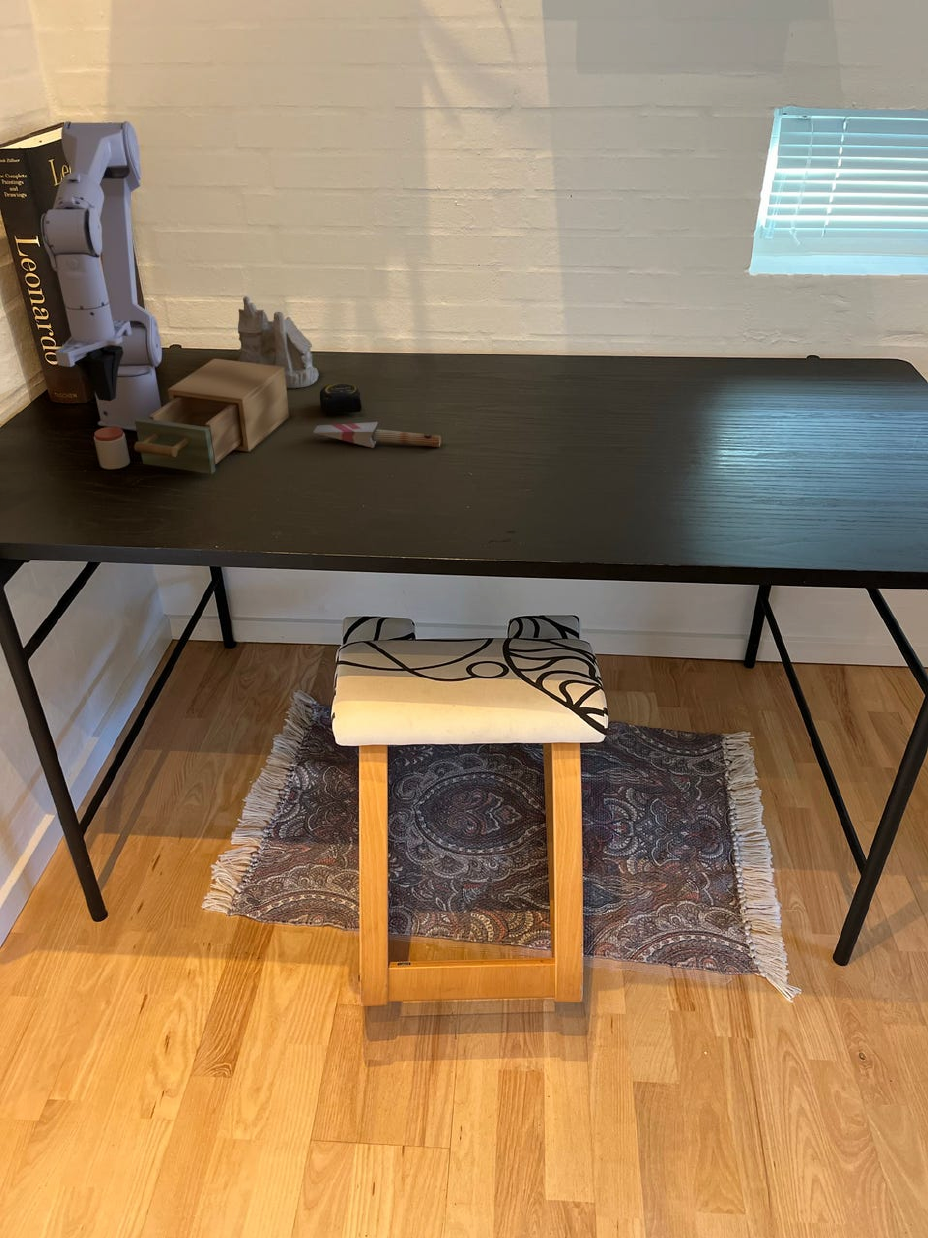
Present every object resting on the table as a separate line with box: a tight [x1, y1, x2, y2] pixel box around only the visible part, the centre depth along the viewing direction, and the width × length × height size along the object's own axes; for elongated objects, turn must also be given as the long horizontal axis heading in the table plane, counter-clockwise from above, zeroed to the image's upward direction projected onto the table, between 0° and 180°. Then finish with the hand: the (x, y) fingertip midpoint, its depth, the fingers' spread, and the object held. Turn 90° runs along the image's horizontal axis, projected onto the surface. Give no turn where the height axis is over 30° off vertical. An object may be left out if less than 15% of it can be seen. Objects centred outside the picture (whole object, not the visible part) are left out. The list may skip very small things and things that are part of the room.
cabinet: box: [167, 358, 290, 453], centre depth 152 cm, size 15×13×9 cm
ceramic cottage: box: [237, 295, 319, 389], centre depth 172 cm, size 16×16×15 cm
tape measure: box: [319, 382, 363, 415], centre depth 160 cm, size 7×7×4 cm
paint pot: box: [93, 426, 131, 470], centre depth 142 cm, size 4×4×5 cm
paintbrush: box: [312, 421, 442, 449], centre depth 149 cm, size 4×3×20 cm
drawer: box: [133, 396, 243, 475], centre depth 141 cm, size 18×11×7 cm, turn 164°
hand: (107, 398), depth 137 cm, fingers closed
